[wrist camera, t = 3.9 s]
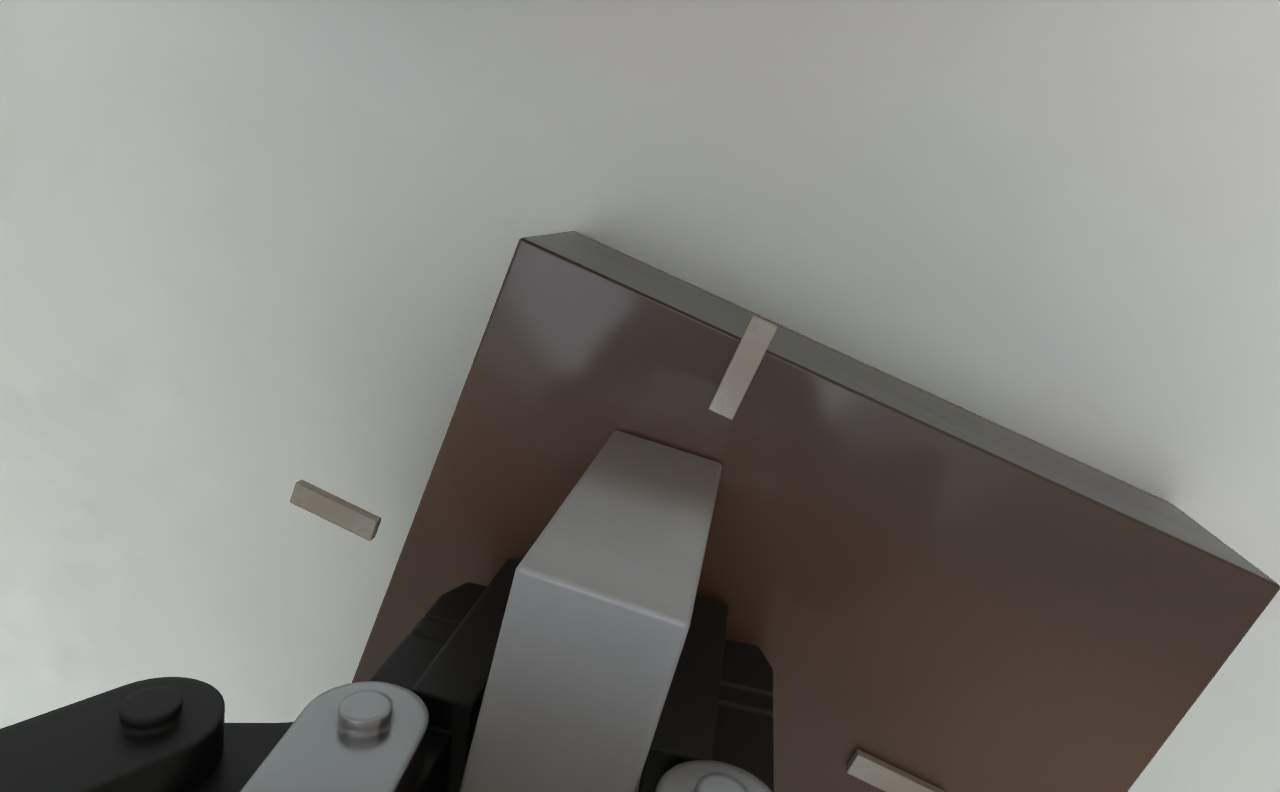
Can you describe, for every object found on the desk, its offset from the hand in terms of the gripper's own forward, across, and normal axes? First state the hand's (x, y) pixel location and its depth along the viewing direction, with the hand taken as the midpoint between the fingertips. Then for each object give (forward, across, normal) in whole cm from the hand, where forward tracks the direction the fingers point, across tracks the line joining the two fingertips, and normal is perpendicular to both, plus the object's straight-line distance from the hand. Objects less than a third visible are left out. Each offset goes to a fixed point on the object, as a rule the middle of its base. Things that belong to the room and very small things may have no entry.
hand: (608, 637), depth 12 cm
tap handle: (0, 0, 0) cm, 0 cm away
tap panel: (+3, -2, +2) cm, 4 cm away
